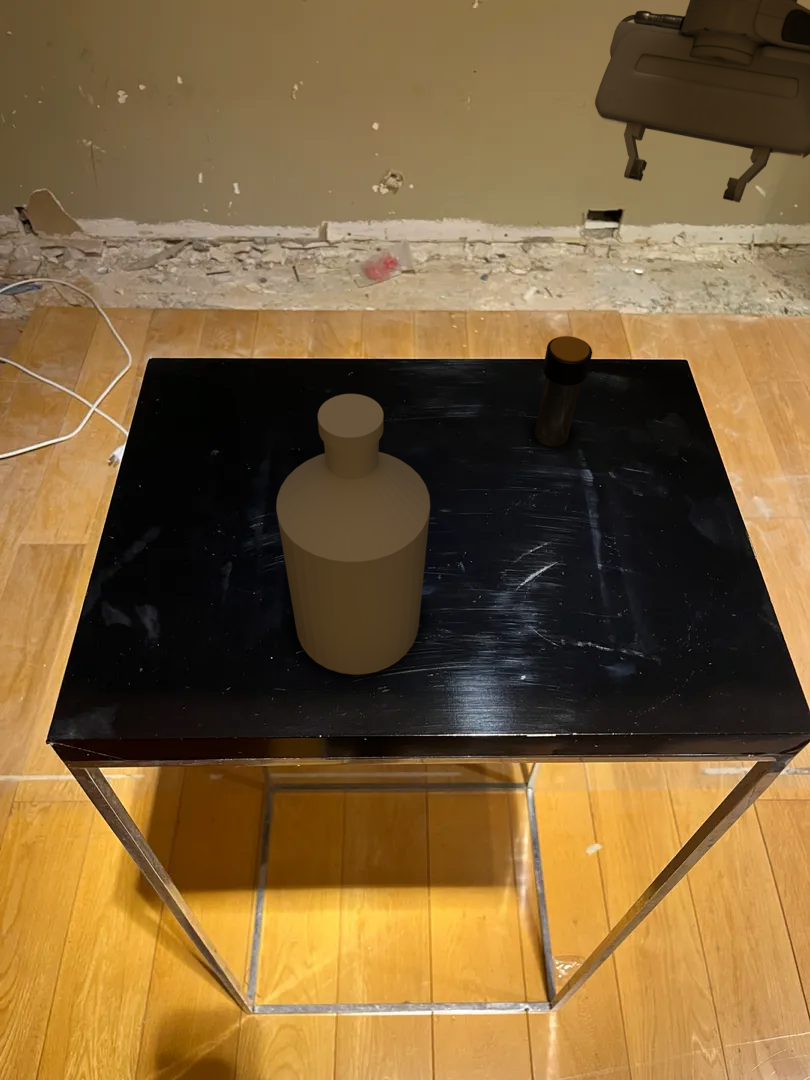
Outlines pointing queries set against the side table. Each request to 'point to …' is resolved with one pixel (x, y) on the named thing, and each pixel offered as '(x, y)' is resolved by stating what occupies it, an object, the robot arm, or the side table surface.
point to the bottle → (354, 543)
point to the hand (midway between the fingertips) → (680, 189)
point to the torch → (561, 388)
